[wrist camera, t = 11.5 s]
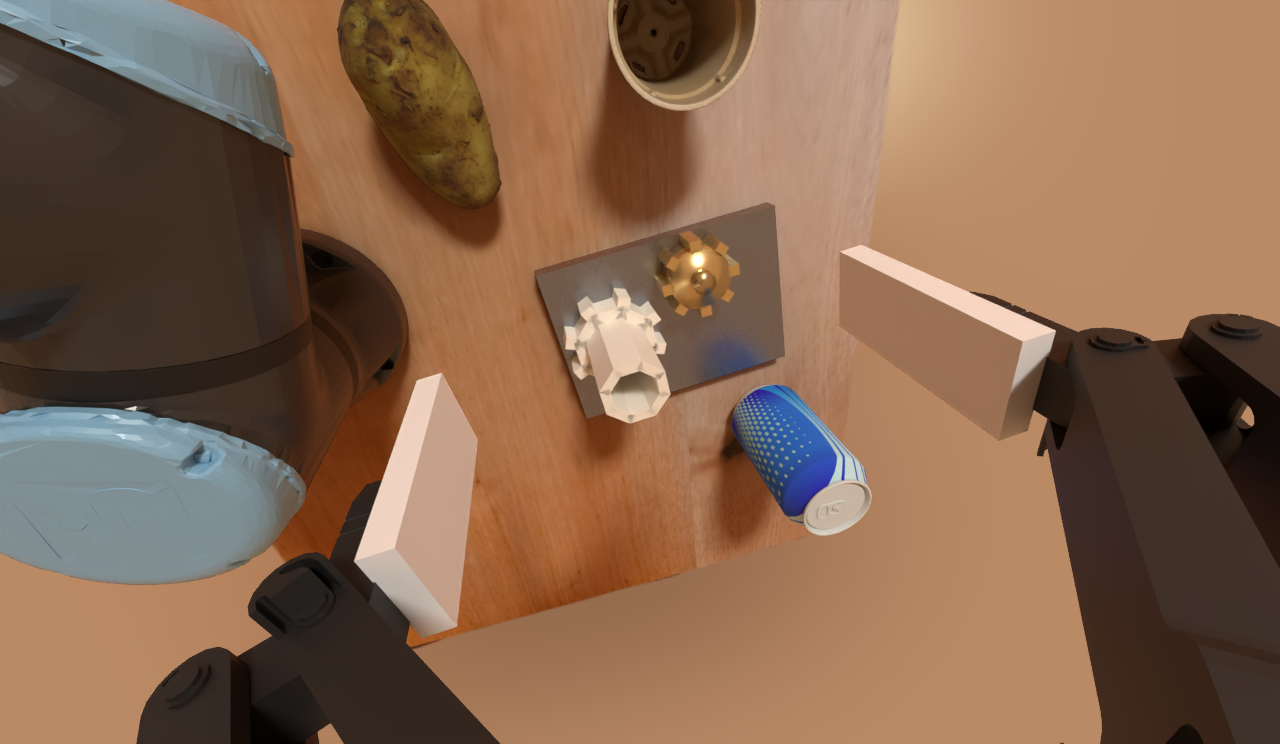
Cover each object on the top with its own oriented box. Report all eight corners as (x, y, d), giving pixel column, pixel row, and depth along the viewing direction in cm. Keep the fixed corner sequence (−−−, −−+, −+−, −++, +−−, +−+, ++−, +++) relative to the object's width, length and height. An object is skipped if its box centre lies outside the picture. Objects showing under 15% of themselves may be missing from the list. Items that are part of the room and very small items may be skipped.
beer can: (754, 368, 53) (836, 462, 39) (807, 392, 56) (899, 487, 43) (713, 426, 56) (776, 532, 42) (766, 446, 59) (839, 550, 46)
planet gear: (580, 386, 47) (595, 454, 39) (552, 306, 43) (561, 362, 34) (666, 359, 48) (699, 420, 39) (647, 277, 43) (680, 325, 34)
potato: (395, 204, 37) (369, 229, 31) (348, -3, 31) (300, -30, 24) (505, 201, 39) (503, 224, 32) (482, 4, 33) (472, -19, 26)
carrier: (585, 410, 51) (592, 446, 46) (534, 270, 42) (537, 294, 37) (778, 349, 52) (806, 377, 47) (767, 202, 44) (800, 216, 39)
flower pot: (705, 110, 39) (748, 113, 32) (589, 105, 37) (607, 108, 30) (719, -40, 34) (773, -77, 27) (587, -55, 32) (608, -99, 25)
